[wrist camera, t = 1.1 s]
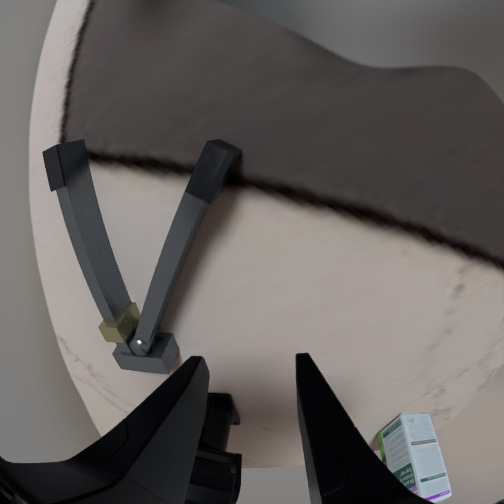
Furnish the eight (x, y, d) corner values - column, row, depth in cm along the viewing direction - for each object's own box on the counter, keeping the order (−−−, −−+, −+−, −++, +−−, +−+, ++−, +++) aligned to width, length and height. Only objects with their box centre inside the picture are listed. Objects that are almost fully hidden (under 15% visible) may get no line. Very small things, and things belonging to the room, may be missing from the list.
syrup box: (400, 412, 27) (420, 508, 14) (429, 411, 27) (453, 496, 14) (376, 433, 29) (388, 520, 16) (406, 432, 29) (421, 511, 16)
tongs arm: (159, 334, 23) (147, 359, 20) (142, 326, 23) (128, 349, 20) (242, 150, 16) (234, 154, 13) (216, 137, 16) (202, 140, 13)
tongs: (179, 349, 24) (167, 377, 21) (133, 346, 25) (119, 371, 22) (113, 127, 16) (83, 130, 13) (65, 147, 17) (34, 155, 14)
